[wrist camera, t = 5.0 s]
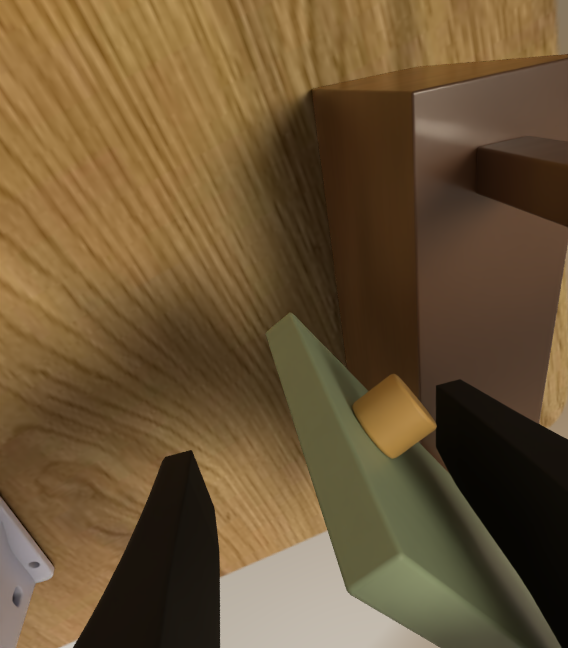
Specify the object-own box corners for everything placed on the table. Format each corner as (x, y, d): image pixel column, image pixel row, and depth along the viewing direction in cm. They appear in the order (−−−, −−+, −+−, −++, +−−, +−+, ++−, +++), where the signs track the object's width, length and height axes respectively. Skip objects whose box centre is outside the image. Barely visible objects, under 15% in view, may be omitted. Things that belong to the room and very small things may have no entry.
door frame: (424, 404, 24) (710, 788, 11) (353, 424, 23) (560, 844, 10) (418, 66, 16) (1498, -25, 3) (310, 89, 15) (968, 102, 2)
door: (519, 503, 15) (689, 718, 10) (475, 532, 16) (620, 755, 10) (324, 281, 10) (481, 504, 5) (263, 332, 10) (345, 594, 5)
